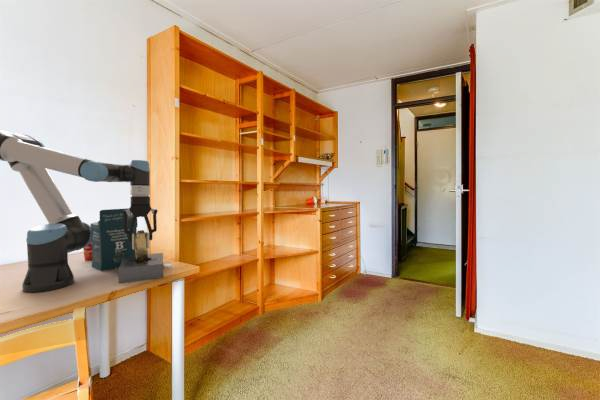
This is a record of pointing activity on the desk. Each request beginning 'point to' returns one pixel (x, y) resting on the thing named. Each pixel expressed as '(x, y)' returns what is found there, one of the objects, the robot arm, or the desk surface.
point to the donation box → (111, 239)
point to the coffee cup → (88, 252)
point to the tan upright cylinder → (140, 246)
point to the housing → (141, 268)
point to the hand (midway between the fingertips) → (141, 248)
